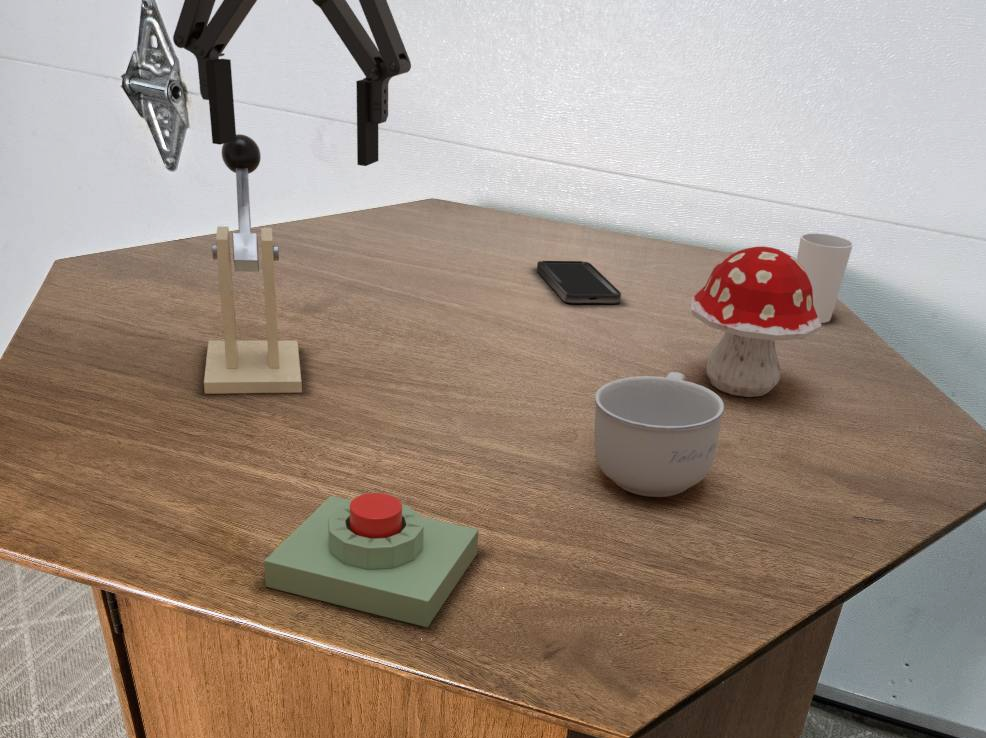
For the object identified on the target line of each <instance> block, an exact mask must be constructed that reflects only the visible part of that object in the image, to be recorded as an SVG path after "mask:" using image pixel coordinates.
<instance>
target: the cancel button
mask: <svg viewBox="0 0 986 738" xmlns="http://www.w3.org/2000/svg"><path fill="white" fill-rule="evenodd" d="M351 500H352V501H351V503H350V529H351V531H352V532H353V533H354V534H355V535H358V536H362V537H366V538H370V539H376V538H388V537H391V536H393V535H396V534H398V533H399V532H400V531H401V529H402V504H403V503H402V502H401V501H400V500H399V499H398V497H395V496H393V495H390V494H387V493H380V492H369V493H365V494H361V495H358V496H356V497H355V498H353V499H351Z"/></svg>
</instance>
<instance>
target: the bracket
mask: <svg viewBox="0 0 986 738" xmlns="http://www.w3.org/2000/svg"><path fill="white" fill-rule="evenodd" d="M229 230H230V229H229V226H217V228H216V236H215V243H212V245H211V250H212V251H211V252H212V259H213V260H214V261H215V260H216V261H217V266H218V267H217V268H218V270H217V271H218V279H219V281H218V282H219V293H220V304H221V316H222V329H223V340H208V342H207V350H206V360H205V369H204V378H203V388H204V394H205V395H215V394H216V395H218V394H219V395H221V394H224V395H225V394H226V395H227V394H291V393H294V394H295V393H299V394H301V393H302V392H303V387H302V386H303V385H302V384H303V383H302V371H301V363H300V353H299V352H300V351H299V342H298V340H279V334H278V333H279V332H278V317H277V315H278V313H277V297H276V296H277V295H276V277H275V275H276V274H275V262H279V261H280V253H279V251H280V249H279V245H278V244H277V245H276V244H275V245H274V240H273V228H272V227H261V228H260V230H261V231H260V237H261V238H260V239H261V242H260V243H261V257H262V273H263V290H264V291H263V293H264V305H265V306H264V307H265V309H264V310H265V322H266V323H265V325H266V340H238V334H237V322H236V307H235V296H234V295H235V293H234V282H233V281H234V280H233V269H232V257H231V255H232V254H231V242H230V231H229Z"/></svg>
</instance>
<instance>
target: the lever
mask: <svg viewBox="0 0 986 738" xmlns="http://www.w3.org/2000/svg"><path fill="white" fill-rule="evenodd" d="M261 155H262V154H261V150H260V148H259V145H258V144H257V142H256V141H255V140H254V139H253V138H251V137H250V136H248V135H245V134H239V133H238V134H237V133H236V140H235V141H231V142H228V143H224V144H222V147H221V158H222V161H223V163H224V165H225V166H226V167H227V168H228V169H229V170H230V171H231V172H232V173H235V179H236V180H235V181H236V201H237V222H238V224H237V225H238V232H232V253H233V254H232V255H233V264H234V266H233V267H234V271H235V272H249V273H250V272H253V273H254V272H256V273H258V272H260V260H259V243H258V234H257V233H256V232H255V233H254V232H253V233H252V225H251V224H252V221H251V202H250V200H251V199H250V183H249V180H250V179H249V174H251V173H253V172H254V171H256V170H257V169H258V167H259V165H260V162H261V158H262V156H261Z"/></svg>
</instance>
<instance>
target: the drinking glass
mask: <svg viewBox="0 0 986 738" xmlns="http://www.w3.org/2000/svg"><path fill="white" fill-rule="evenodd" d="M853 247H854V243H853V242H852V241H851V240H849V239H847V238H844V237H841V236H837V235H832V234H828V233H827V234H826V233H818V232H813V233H812V232H811V233H809V232H808V233H804V234H802V235H800V239H799V244H798V249H797V255H796V260H797V261H798V262H799V263H800V264H801V266H802V267H803V268H804V270H805V272H806V274H807V276H808V278H809V280H810V283H811V285H812V292H813V306H814V308H815V310H816V312H817V314H818V317H819V320H820V323H821V324H823V323H828V322H830V321H831V319H832V316H833V313H834V309H835V306H836V303H837V299H838V296H839V293H840V289H841V286H842V283H843V279H844V276H845V273H846V271H847V270H846V269H847V266H848V263H849V259H850V256H851V254H852V253H851V252H852V250H853Z"/></svg>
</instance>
